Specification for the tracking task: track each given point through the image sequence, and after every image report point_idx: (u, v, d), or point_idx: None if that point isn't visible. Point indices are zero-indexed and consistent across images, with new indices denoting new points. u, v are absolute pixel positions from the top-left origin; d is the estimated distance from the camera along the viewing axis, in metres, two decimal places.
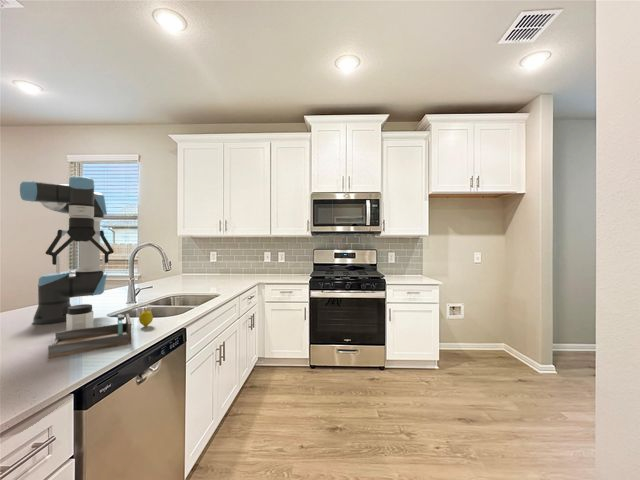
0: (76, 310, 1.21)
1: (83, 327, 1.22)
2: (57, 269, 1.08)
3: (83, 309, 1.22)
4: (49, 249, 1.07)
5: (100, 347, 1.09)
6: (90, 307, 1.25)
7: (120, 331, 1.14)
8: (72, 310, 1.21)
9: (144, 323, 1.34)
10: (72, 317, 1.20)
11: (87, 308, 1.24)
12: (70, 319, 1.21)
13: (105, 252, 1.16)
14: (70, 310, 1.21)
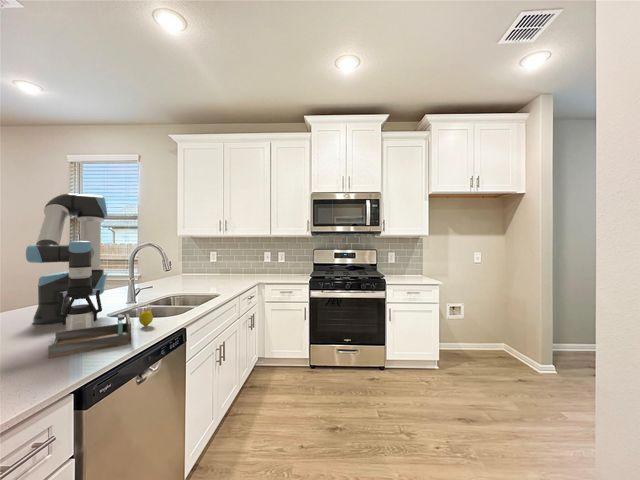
0: (76, 310, 1.21)
1: (83, 327, 1.22)
2: (66, 329, 1.21)
3: (83, 309, 1.22)
4: (58, 312, 1.20)
5: (100, 347, 1.09)
6: (90, 307, 1.25)
7: (120, 331, 1.14)
8: (72, 310, 1.21)
9: (144, 323, 1.34)
10: (72, 317, 1.20)
11: (87, 308, 1.24)
12: (70, 319, 1.21)
13: (94, 311, 1.27)
14: (70, 310, 1.21)
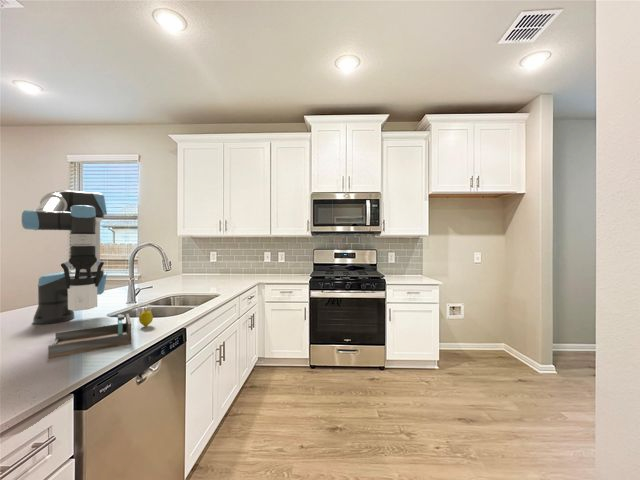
0: (78, 280, 1.10)
1: (86, 299, 1.11)
2: None
3: (86, 280, 1.11)
4: (67, 283, 1.10)
5: (100, 347, 1.09)
6: (93, 278, 1.14)
7: (120, 331, 1.14)
8: (74, 280, 1.09)
9: (144, 323, 1.34)
10: (74, 288, 1.09)
11: (90, 279, 1.12)
12: (71, 290, 1.10)
13: None
14: (71, 280, 1.10)
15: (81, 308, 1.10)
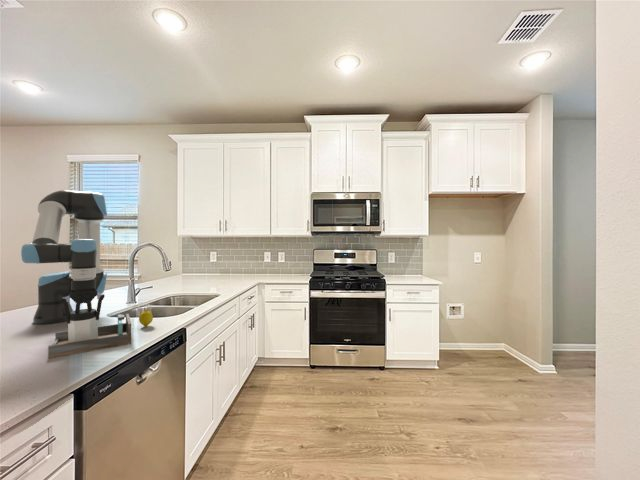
0: (79, 316, 1.09)
1: (87, 334, 1.10)
2: None
3: (86, 314, 1.10)
4: (68, 318, 1.09)
5: (100, 347, 1.09)
6: (94, 312, 1.13)
7: (120, 331, 1.14)
8: (74, 316, 1.09)
9: (144, 323, 1.34)
10: (74, 323, 1.08)
11: (91, 313, 1.12)
12: (72, 326, 1.09)
13: None
14: (72, 316, 1.09)
15: None
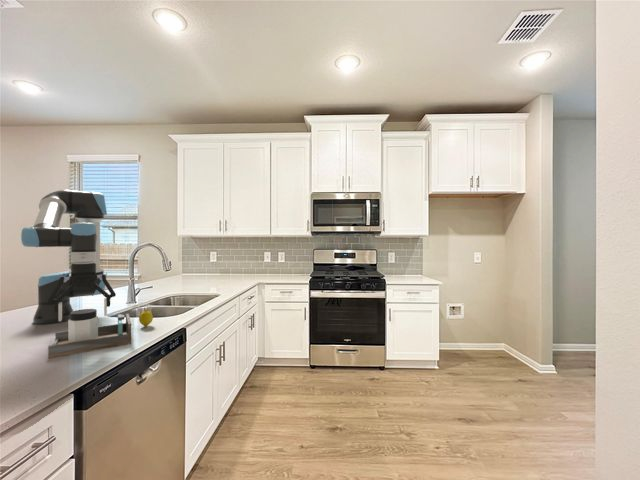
0: (79, 316, 1.09)
1: (87, 334, 1.11)
2: (59, 316, 1.08)
3: (87, 314, 1.11)
4: (51, 297, 1.07)
5: (100, 347, 1.09)
6: (94, 312, 1.13)
7: (120, 331, 1.14)
8: (75, 316, 1.09)
9: (144, 323, 1.34)
10: (75, 323, 1.09)
11: (91, 313, 1.12)
12: (72, 325, 1.09)
13: (107, 296, 1.16)
14: (72, 316, 1.09)
15: None
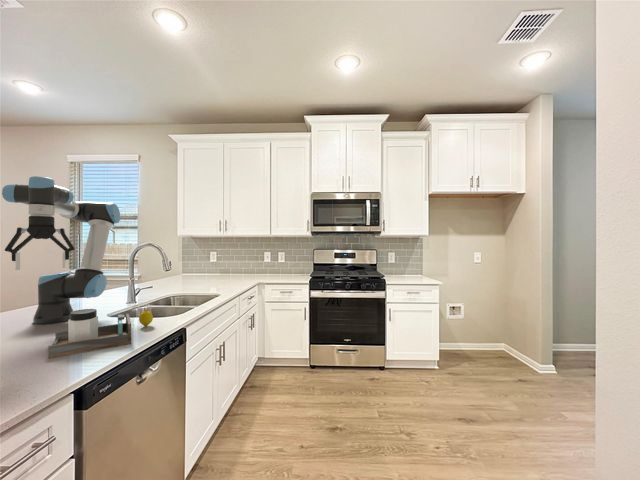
0: (79, 316, 1.09)
1: (87, 334, 1.11)
2: (16, 265, 1.12)
3: (87, 314, 1.11)
4: (8, 246, 1.11)
5: (100, 347, 1.09)
6: (94, 312, 1.13)
7: (120, 331, 1.14)
8: (75, 316, 1.09)
9: (144, 323, 1.34)
10: (75, 323, 1.09)
11: (91, 313, 1.12)
12: (72, 325, 1.09)
13: (65, 249, 1.21)
14: (72, 316, 1.09)
15: None
